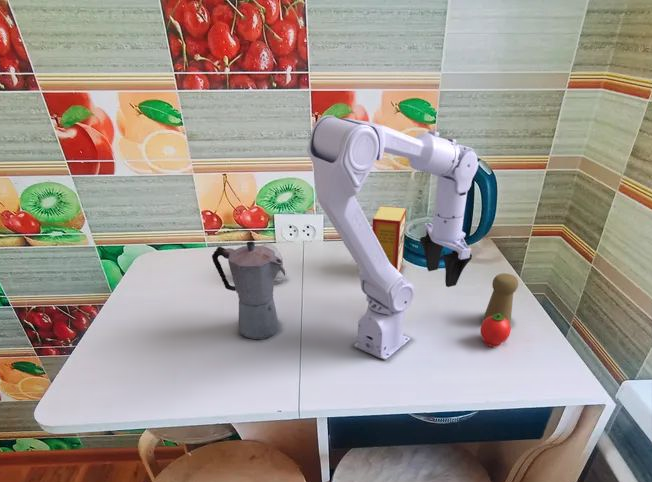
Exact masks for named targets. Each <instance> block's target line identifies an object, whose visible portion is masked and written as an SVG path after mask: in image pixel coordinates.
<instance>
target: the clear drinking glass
mask: <svg viewBox="0 0 652 482" xmlns="http://www.w3.org/2000/svg"><path fill="white" fill-rule="evenodd" d="M260 246H264V247H266V248H269V249H271V250H273V251H275V256H276V257H278V258H280V259H281V260H282V261H283V262H284V259H283V256H282V252H280V250H279V249H278V248H277V246H276V245H274V244H272V243H270V242H265V243H263V244H261V245H260ZM278 272H281V273H282V275H283V277H282V278H278V279H276V278H275V280H274V285H279V284H282V283H284V282H285V281H286V279H287V270H286V269H285V267H284V264H283V265H281V266H280V268H279V270H278Z"/></svg>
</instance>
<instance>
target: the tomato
mask: <svg viewBox="0 0 652 482" xmlns="http://www.w3.org/2000/svg"><path fill="white" fill-rule="evenodd" d="M479 330H480V335H481V338H482V340H483V342H484V344H485V345H487V346H489V347H494V348H496V347H499V346H501V345H502V343H504V342H506V340H508V338H509V337H510V336H511V331H512V328H511V324H509V322H508V320H507V319H506V318H504V316H502V315H501V314H500V313H498V314H494V315H493V316H490V317H488V318H486V319H485V320H484V321H483V320H482V323H481V325H480V329H479Z"/></svg>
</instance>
